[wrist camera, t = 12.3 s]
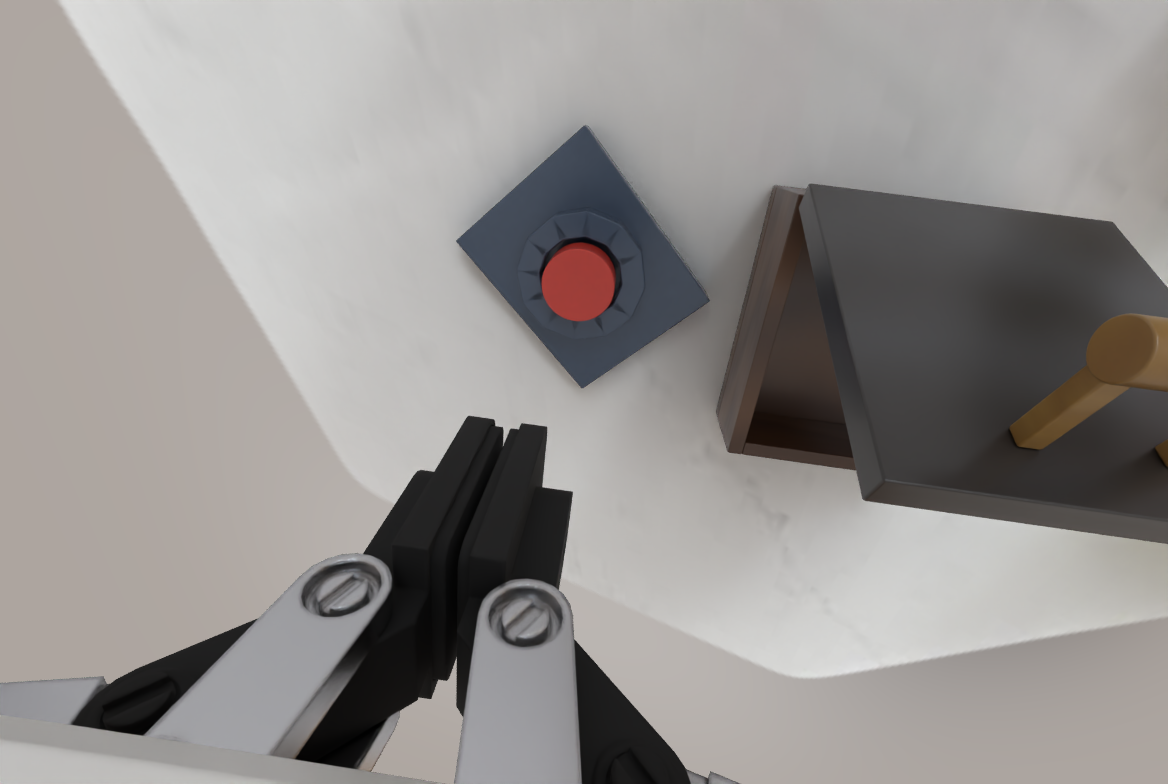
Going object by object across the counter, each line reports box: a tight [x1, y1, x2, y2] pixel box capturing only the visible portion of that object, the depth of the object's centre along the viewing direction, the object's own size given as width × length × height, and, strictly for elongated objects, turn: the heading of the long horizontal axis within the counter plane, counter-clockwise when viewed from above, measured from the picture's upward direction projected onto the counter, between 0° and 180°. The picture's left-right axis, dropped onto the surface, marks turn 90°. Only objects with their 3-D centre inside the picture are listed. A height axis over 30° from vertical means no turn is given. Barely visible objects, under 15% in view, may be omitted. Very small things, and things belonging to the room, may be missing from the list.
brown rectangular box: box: [716, 185, 856, 470], centre depth 28 cm, size 14×13×5 cm
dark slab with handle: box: [799, 184, 1168, 544], centre depth 16 cm, size 14×13×6 cm
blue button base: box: [457, 125, 710, 388], centre depth 29 cm, size 11×9×4 cm
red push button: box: [542, 242, 616, 321], centre depth 27 cm, size 4×4×2 cm
